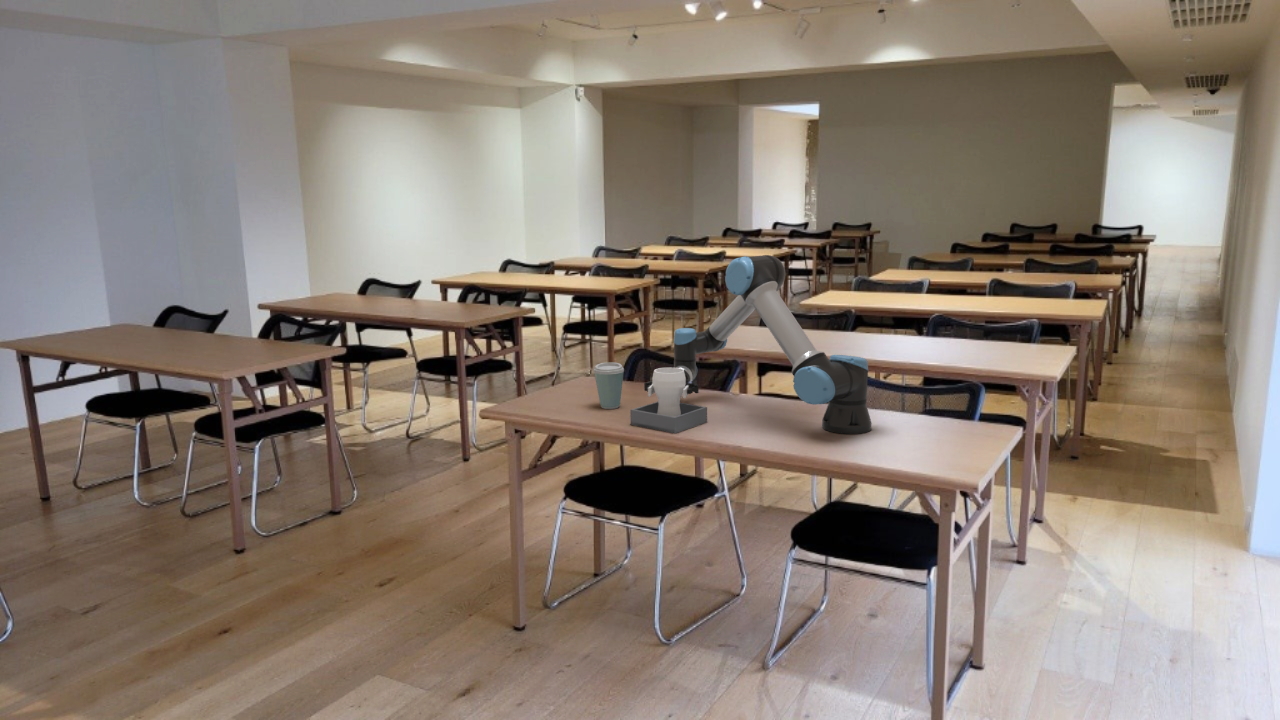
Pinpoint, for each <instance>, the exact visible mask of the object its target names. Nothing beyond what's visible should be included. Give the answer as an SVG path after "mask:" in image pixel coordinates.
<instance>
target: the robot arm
mask: <svg viewBox="0 0 1280 720" xmlns="http://www.w3.org/2000/svg"><path fill="white" fill-rule="evenodd" d="M785 280H786V269H785V266H784V263H783V262H782V261H781V260H780V259H779V258H778V257H776V256H773V255H769V254H764V255H755V256H742V257H737V258H734V259H732V260H731V261H730V262H729V264H728V266H727V268H726V269H725V276H724V281H725V286H726V288H727V289H728V291H729V293H731V294H732V295H734V296H736V297H735V298H734V299H733V300H732V301H731V303H730V304H729V305H727V307H726V308H725V309H724V310H723V311H722V312H721V313H720V314H719V315H718V317H716V318H715V320H714V321H713V322H712V323H711V324H710V325H709V326H708V327H707V328H706V329H705V330H703V331H698V332H697V331H696V329H694V328H691V327H680V328H677V329H675V330H674V336H673V349H674V350H673V357H674V358H673V359H674V360H673V368H680V369H683V370H684V373H685V377H686V385H685V388H684V389H683V393H682V398H683V399H686V398H687V396H688V395H691V394H693V393H694V394H699V393H700V392H699V389H700V387H699V384H698V382H697V379H696V377H697V374H698V367H697V365H696V360H697V358H696V357H697V355H699V354H704V353H710V352H718V351H720V350H722V349H723V350H724V348H726V346H727V344H728V338H729V337H730V336H731V335H732V334H733V333H734V332H735V331H736V330H737V329H738V328H739V327H740V326H741V325H742V324H743V323H744V321H746V319H748V317H749V316H751V314H752V313H754V311H755V310H756V312H757V314H758V315H759V317H760V318H761V319H762V321H763V322H764V325H766V327H767V329H768V330H769V332H770V334H772V336H773V338H774V339H775V340H776V342H777V344H778V346H779V347H780V348H781V350H782V352H783V353H784V355H785V356H786V357H787V359H788V361H789V362H790V363H791V365H792V369H791V375H792V376H793V380H792V382H793V390H794V392H795V394H796V395H797V397H799V399H800V400H801V401H802V402H804V403H806V404H810V405H815V406H816V405H824V404H827V403H828V404H827V406H826V409H825V412H824V414H823V417H822V422H821V427H822V429H823V430H825V431H828V432H831V433H835V434H846V435H847V434H848V435H855V434H856V435H857V434H866V433H868V432H870V431H872V420H871V416H870V413H869V410H868V406H867V404H868V403H867V400H868V378H869V362H868V360H867V359H866V358H864V357H861V356H855V355H846V354H832V355H830V357H829V358H828V356H827V354H826V353H825V352H824V351H820V350H817V349H816V347H815V346H814V344H813V342H812V341H811V339H810V338H809V337H808V335H807V334H806V332H805V331H804V329H803V328H802V327H801V325H800V323H799V321H797V318H796V317H795V316H794V315H793V313H792V311H790V309H789V307H788V306H787V304H786V303H785V301H784V299H783V298H782V297H781V295H780V294H779V292H778V291H779V290H780V289H781V287H782V286H783V285H784V283H785ZM643 389H644V392H647V397H652V396H653V394H655V391H654V388H653V385H652V380H650V381H649V380H648V381H647V382H644V386H643Z"/></svg>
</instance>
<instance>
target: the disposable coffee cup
mask: <svg viewBox="0 0 1280 720" xmlns="http://www.w3.org/2000/svg"><path fill="white" fill-rule="evenodd" d="M624 372H625V368H624V367H623V365H622V364H621V363H619V362H613V361H612V362H611V361H610V362H601V363H598V364H596V365H595V366H594V368H593V373H594V377H595V378H594V379H595V383H596V384H595V385H596V388H597V395H598V401H599V405H600V407H601V408H602V409H604V410H614V409H618V408H620V405H621V399H622V390H623V381H624V374H625V373H624Z"/></svg>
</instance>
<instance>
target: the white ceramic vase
mask: <svg viewBox="0 0 1280 720" xmlns="http://www.w3.org/2000/svg"><path fill="white" fill-rule="evenodd" d="M651 381H652V385H653V388H654V391H655V392H654V394H655V395H656V397H657V402H658V404H659V406H658V412H657V414H661V415H666V416H672V417H676V416H679V415H681V411H680V403H681V397H682V396H683V389H684V388H685V385H686V377H685V373H684V370H683V369H680V368H674V367H659V368H656V369H654V370H653V373H652V379H651Z"/></svg>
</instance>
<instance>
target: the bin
mask: <svg viewBox="0 0 1280 720" xmlns="http://www.w3.org/2000/svg"><path fill="white" fill-rule="evenodd" d="M658 406H659V404H658V401H655V402H651V403H647V404H645V405H642V406H638V407H635V408H631V409H630V425H631V426H635V427H639V428H645V429H649V430H655V431H659V432H660V431H661V432H663V433H664V432H665V433H670V434H674V435H675V434H679V433H680V432H683V431H687V430H689V429H692V428H694V427H697V426H701V425H703V424H705V423H708V406H702V405H696V404H690V403H686V402H685V403H684V402H680V411H681V415H679V416H676V417H672V416H666V415H661V414H657V412H658Z"/></svg>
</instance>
